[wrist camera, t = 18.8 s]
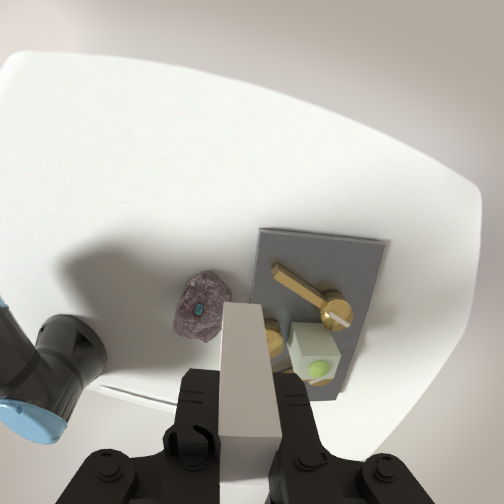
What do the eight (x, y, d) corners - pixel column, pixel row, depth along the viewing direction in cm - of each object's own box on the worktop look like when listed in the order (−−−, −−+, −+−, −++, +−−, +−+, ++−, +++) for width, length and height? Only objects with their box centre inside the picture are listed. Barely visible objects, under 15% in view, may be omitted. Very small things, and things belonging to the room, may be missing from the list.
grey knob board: (238, 393, 59) (239, 415, 53) (259, 228, 47) (262, 240, 42) (333, 393, 60) (340, 413, 55) (379, 240, 49) (395, 253, 43)
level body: (287, 344, 52) (296, 381, 43) (291, 322, 51) (302, 358, 42) (320, 345, 53) (334, 381, 44) (326, 323, 51) (342, 358, 42)
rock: (239, 278, 50) (239, 291, 46) (219, 334, 54) (217, 350, 49) (190, 263, 49) (185, 275, 44) (174, 321, 52) (169, 336, 48)
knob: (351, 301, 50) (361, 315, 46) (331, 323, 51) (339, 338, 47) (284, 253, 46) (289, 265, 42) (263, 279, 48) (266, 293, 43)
